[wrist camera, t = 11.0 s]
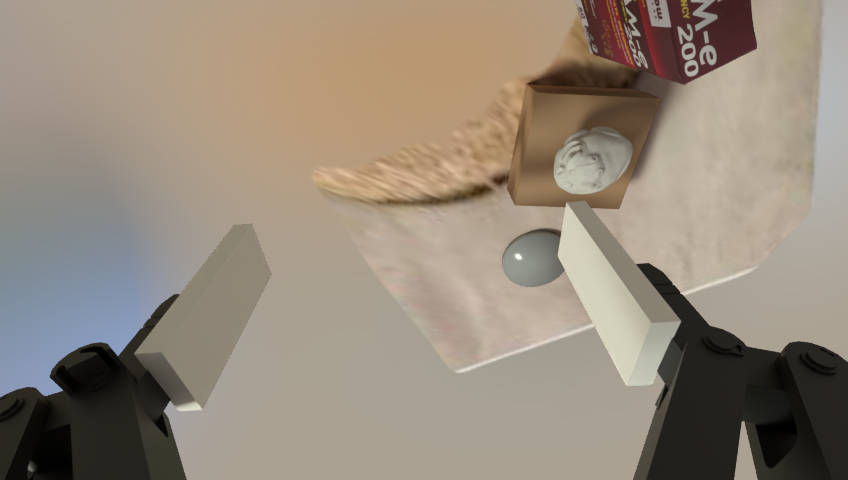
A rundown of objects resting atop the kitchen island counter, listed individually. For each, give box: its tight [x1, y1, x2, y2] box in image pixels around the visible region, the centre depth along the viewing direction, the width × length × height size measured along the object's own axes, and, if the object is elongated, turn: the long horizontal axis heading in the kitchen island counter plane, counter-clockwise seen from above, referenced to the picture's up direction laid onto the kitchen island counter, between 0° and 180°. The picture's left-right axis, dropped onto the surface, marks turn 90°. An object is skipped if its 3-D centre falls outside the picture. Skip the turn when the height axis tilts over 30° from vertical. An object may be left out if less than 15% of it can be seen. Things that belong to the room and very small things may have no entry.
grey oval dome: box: [502, 231, 565, 287], centre depth 51 cm, size 9×9×1 cm
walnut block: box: [507, 84, 661, 209], centre depth 41 cm, size 12×12×5 cm
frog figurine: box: [554, 126, 633, 194], centre depth 35 cm, size 6×7×7 cm
